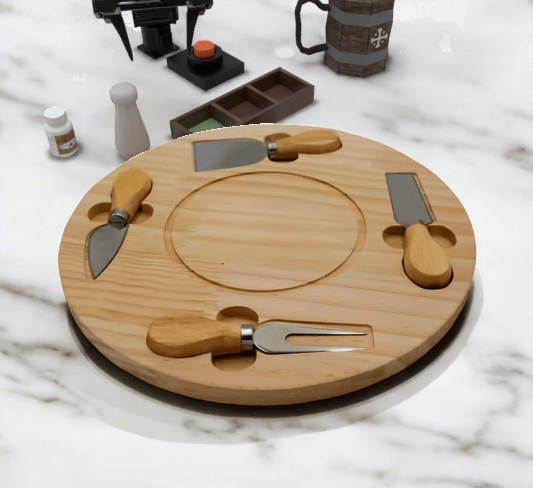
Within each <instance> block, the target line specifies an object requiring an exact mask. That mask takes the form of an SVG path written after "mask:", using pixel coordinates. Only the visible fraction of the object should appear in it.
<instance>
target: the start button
mask: <svg viewBox="0 0 533 488" xmlns="http://www.w3.org/2000/svg"><path fill="white" fill-rule="evenodd" d="M214 44H215V43H214V42H213V41H211V40H206V39H202V40H197V41H195V42H194V44H193V45H194V46H193V45H192V46H193V47H194V55H195V56H196V57H201V58H206V57H211V56H213V55H214V54H215V48H214Z"/></svg>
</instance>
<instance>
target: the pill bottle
mask: <svg viewBox="0 0 533 488" xmlns="http://www.w3.org/2000/svg"><path fill="white" fill-rule="evenodd" d="M43 117H44V121H45V124H44V130H45V134H46V139H47V141H48V145H49V148H50V151H51V154H52V155H53V156H54V157H57V158H68V157H70V156H71V157H72V156H73V155H75V154H76V153H77V151H78V149H79V147H78V141H77V138H76V134H75V130H74V126H73V122H72V121H71V120H70V119H69V118H68V115H67V111H66V109H65V108H64V107H63V106H60V105H54V106H50V107H48V108H46V109H45V110H44V111H43Z"/></svg>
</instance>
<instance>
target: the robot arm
mask: <svg viewBox="0 0 533 488" xmlns="http://www.w3.org/2000/svg"><path fill="white" fill-rule="evenodd" d="M91 5H92V13H93V16H94V17H95V18H96V19H98V20H99V19H100V20H103V21H104V23H105V24H106V25H108V24H112V26H113V27H114V29H115V31H116V32H117V34H118V36H119V38H120V39H121V42H122V45H123V47H124V49H125V51H126V53H127V55H128V58H129V60H130V62H134V55H133V49H132V45H131V42H130V38H129V34H128V31H127V27H126V24H125V23H126V22H125V20H124V17H123V15H122V12H131V18H132V22H133V23H132V24H133V27H134V29H137V28H140V32H141V39H142V43H141V44H139V45H137V46H136V49H137V51H140V52H141V53H143V54H145V55H146V56H148V57H150V58H151V59H152V60H158V59H160V58H164V57H165V56H167V55H168V56H169V55H170V54H173V53H174V52H178V51H179V50H180V46H179V45H177V44H176V43H175V42H174V38H173V32H172V25H177V22H178V21H180V16H179V7H186V15H185V18H186V19H185V27H186V28H185V29H186V30H185V31H186V32H185V33H186V34H185V35H186V36H185V37H186V39H185V40H186V41H185V43H186V45H185V46H186V49H187V54H188V56H190V54H191V48H192V46H193V41H194V35H195V29H196V26H197V21H198V18H199V16H201V17H202V16H204V15H205V13H206V11H207V10H211V9H212V8H213V5H214V0H91Z"/></svg>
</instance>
